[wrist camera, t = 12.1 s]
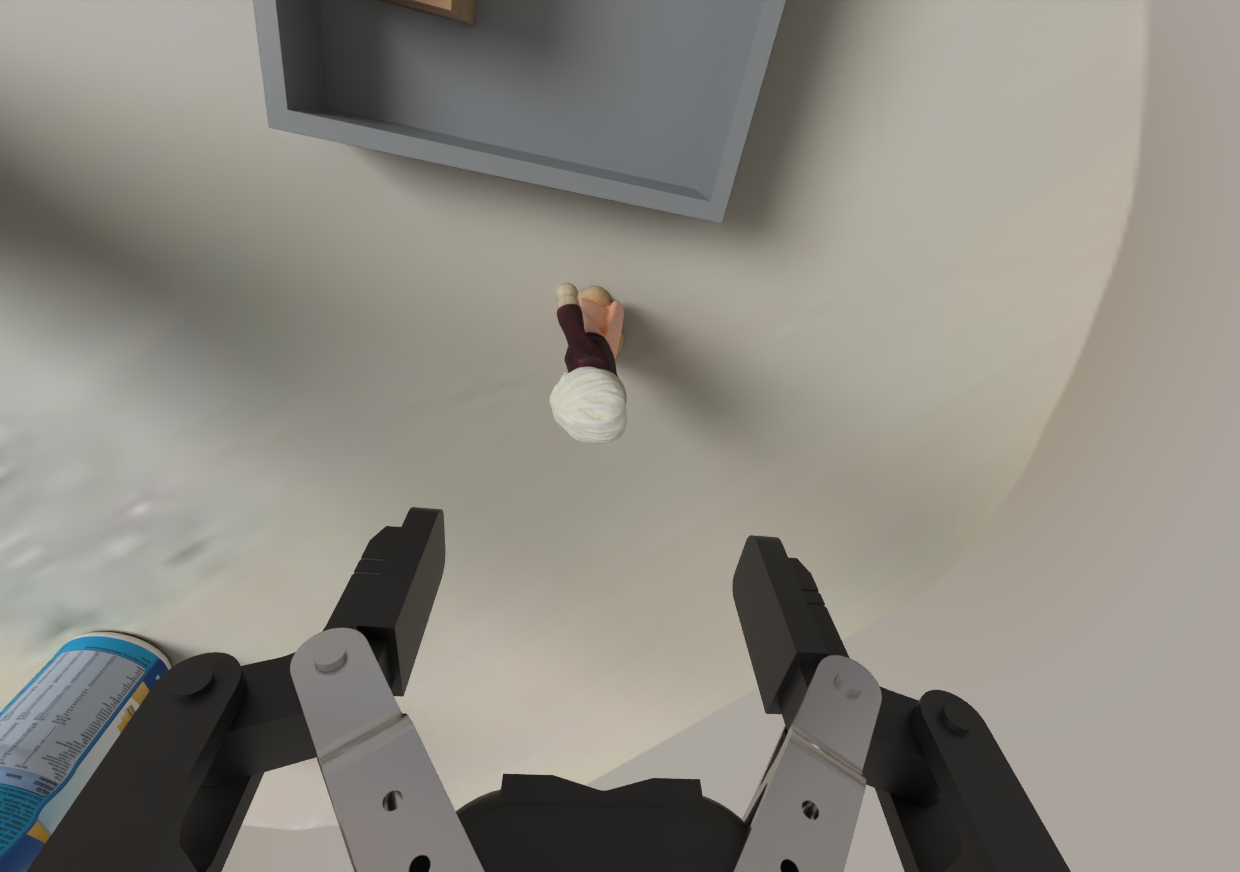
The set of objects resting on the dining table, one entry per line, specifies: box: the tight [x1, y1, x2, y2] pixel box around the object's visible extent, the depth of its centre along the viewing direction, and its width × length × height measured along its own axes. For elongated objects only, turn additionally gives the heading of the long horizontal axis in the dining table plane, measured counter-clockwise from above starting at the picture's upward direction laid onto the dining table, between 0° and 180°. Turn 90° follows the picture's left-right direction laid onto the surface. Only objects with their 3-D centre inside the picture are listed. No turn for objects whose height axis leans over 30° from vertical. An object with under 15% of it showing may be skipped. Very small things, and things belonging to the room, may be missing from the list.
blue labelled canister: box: [0, 632, 171, 872], centre depth 38 cm, size 8×8×20 cm
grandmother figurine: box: [550, 283, 627, 444], centre depth 27 cm, size 8×4×13 cm, turn 27°
